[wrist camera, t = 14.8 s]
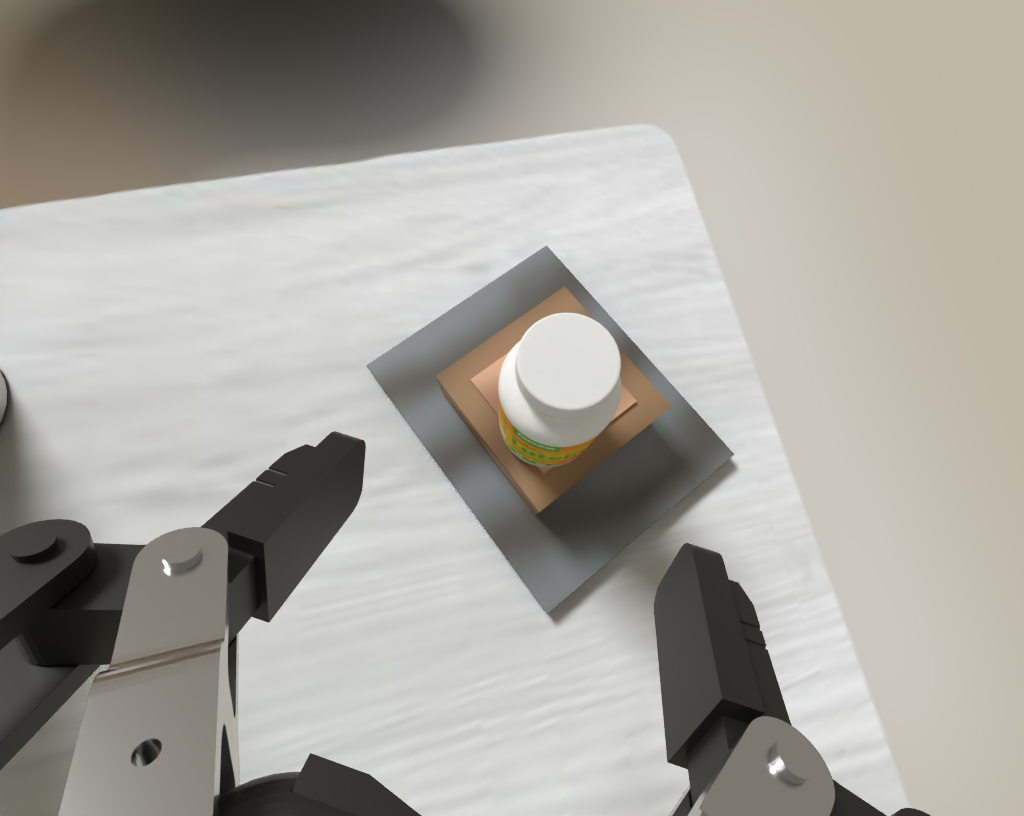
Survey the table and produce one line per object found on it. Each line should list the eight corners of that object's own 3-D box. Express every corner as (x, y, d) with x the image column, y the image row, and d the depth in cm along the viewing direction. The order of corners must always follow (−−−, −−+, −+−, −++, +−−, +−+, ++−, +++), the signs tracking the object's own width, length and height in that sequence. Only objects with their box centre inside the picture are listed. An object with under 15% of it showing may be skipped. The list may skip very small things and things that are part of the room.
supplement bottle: (497, 467, 26) (494, 428, 16) (500, 376, 27) (498, 293, 18) (593, 469, 26) (644, 431, 16) (591, 379, 27) (636, 297, 18)
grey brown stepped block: (370, 370, 33) (346, 340, 28) (545, 253, 35) (552, 206, 30) (545, 611, 29) (554, 627, 24) (727, 456, 31) (769, 441, 26)
